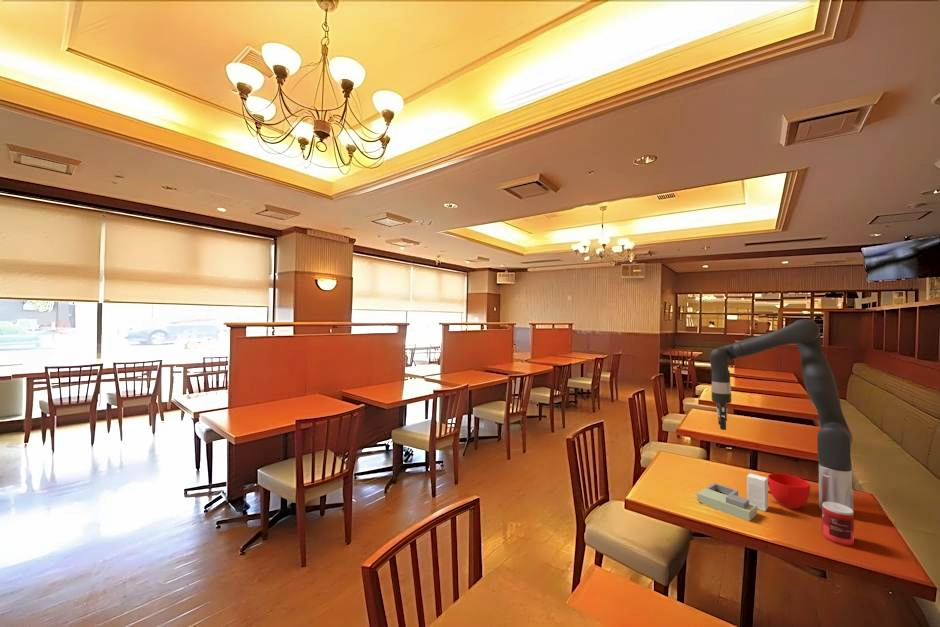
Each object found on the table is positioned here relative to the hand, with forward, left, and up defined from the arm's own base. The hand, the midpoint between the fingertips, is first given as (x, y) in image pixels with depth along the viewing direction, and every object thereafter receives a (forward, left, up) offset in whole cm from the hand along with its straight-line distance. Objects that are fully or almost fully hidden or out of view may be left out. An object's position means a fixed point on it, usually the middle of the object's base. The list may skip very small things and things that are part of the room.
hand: (722, 427), depth 174 cm
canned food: (-42, +18, -25) cm, 52 cm away
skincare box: (-18, +14, -25) cm, 34 cm away
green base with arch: (-10, +20, -25) cm, 34 cm away
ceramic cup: (-23, +3, -25) cm, 34 cm away
